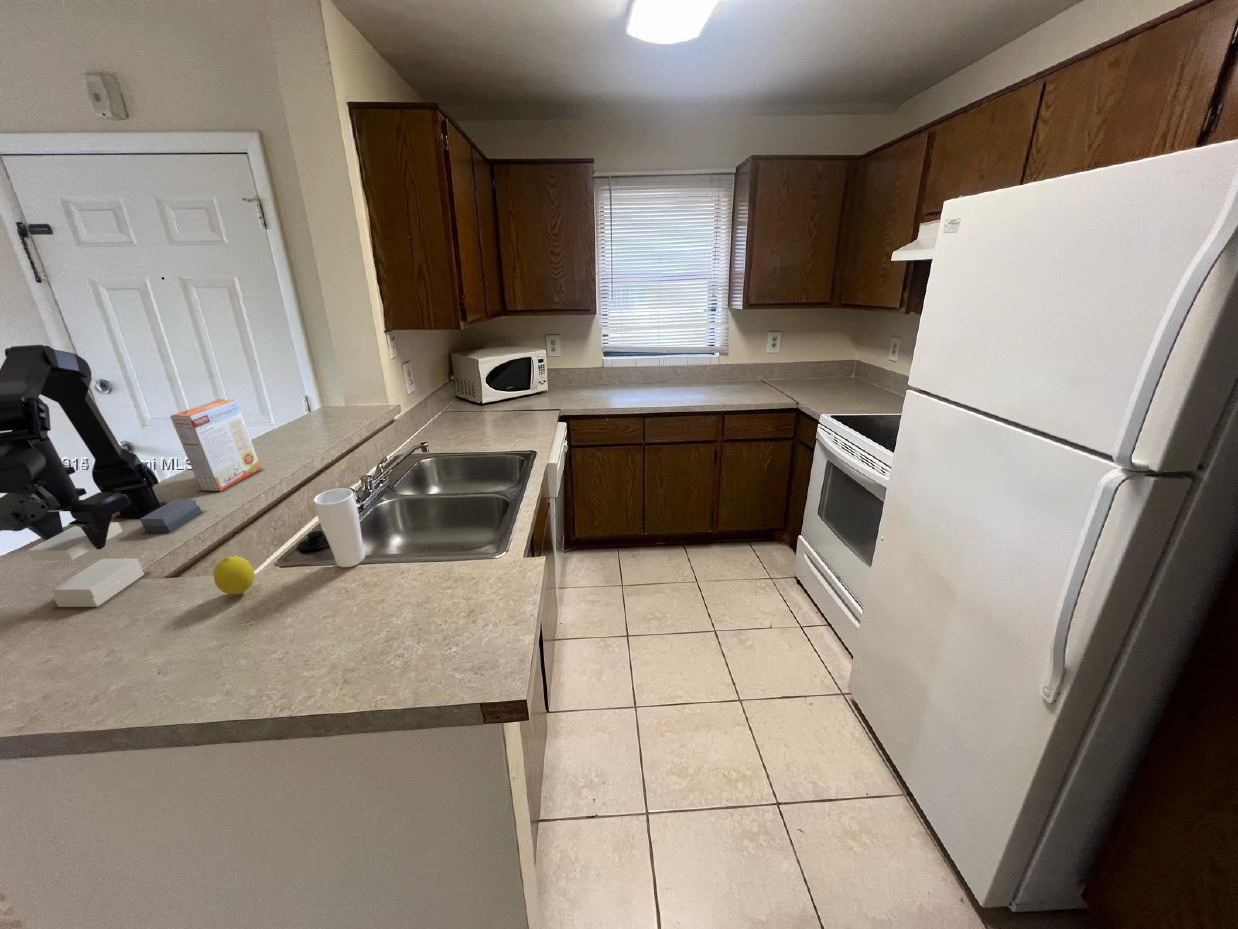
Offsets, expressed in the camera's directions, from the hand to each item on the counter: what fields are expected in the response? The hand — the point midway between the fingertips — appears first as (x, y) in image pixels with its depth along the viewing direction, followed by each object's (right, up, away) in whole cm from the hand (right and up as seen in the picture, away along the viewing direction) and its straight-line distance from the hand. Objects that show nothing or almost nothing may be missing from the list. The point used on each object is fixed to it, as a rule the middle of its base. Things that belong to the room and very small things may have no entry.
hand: (81, 548), depth 84 cm
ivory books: (0, -8, +4) cm, 9 cm away
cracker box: (-11, +10, +45) cm, 48 cm away
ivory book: (0, +1, 0) cm, 1 cm away
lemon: (+26, -9, +3) cm, 28 cm away
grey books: (-7, +2, +25) cm, 27 cm away
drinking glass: (+41, -5, +12) cm, 43 cm away
